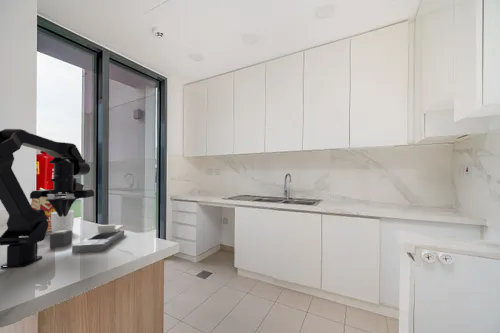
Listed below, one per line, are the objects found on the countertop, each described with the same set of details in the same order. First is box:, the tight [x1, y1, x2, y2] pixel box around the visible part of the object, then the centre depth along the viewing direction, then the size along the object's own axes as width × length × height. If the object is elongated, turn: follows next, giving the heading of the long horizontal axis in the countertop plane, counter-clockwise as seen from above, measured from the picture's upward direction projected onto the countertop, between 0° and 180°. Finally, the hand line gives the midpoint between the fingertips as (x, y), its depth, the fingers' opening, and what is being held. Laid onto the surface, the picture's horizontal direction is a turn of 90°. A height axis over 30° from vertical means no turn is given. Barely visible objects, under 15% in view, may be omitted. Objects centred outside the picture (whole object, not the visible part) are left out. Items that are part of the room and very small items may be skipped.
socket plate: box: [71, 229, 125, 254], centre depth 81 cm, size 17×10×2 cm, turn 10°
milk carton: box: [30, 187, 56, 232], centre depth 98 cm, size 9×9×20 cm
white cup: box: [51, 209, 75, 234], centre depth 92 cm, size 8×8×10 cm
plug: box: [49, 230, 73, 249], centre depth 79 cm, size 4×4×5 cm
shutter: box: [97, 224, 124, 233], centre depth 89 cm, size 8×7×3 cm
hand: (63, 216), depth 79 cm, fingers closed
